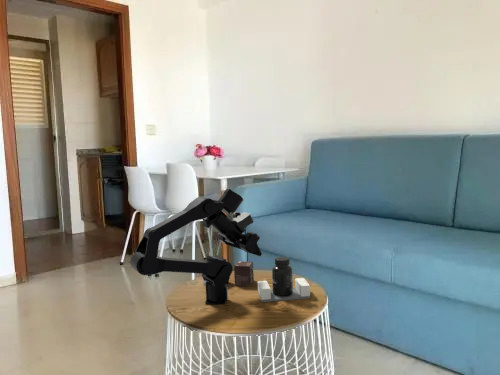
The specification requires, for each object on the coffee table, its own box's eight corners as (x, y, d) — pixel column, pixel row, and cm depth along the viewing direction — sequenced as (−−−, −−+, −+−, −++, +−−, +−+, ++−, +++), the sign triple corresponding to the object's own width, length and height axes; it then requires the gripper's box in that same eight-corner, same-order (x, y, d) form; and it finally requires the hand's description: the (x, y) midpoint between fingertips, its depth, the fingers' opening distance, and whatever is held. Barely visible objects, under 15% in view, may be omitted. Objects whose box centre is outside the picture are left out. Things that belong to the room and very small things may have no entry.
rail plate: (261, 302, 135) (261, 289, 134) (257, 292, 144) (257, 280, 143) (310, 298, 137) (310, 286, 136) (303, 288, 146) (303, 277, 145)
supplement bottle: (268, 294, 139) (267, 259, 138) (279, 288, 145) (278, 254, 144) (286, 298, 135) (285, 262, 134) (297, 292, 141) (296, 257, 140)
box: (250, 286, 150) (250, 266, 150) (234, 285, 152) (233, 265, 151) (254, 280, 156) (253, 261, 155) (238, 280, 158) (237, 261, 157)
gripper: (253, 209, 132) (282, 238, 139) (224, 202, 147) (251, 229, 154) (232, 237, 128) (263, 265, 135) (205, 228, 144) (234, 254, 151)
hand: (253, 252), depth 144 cm, fingers open, 9 cm apart
